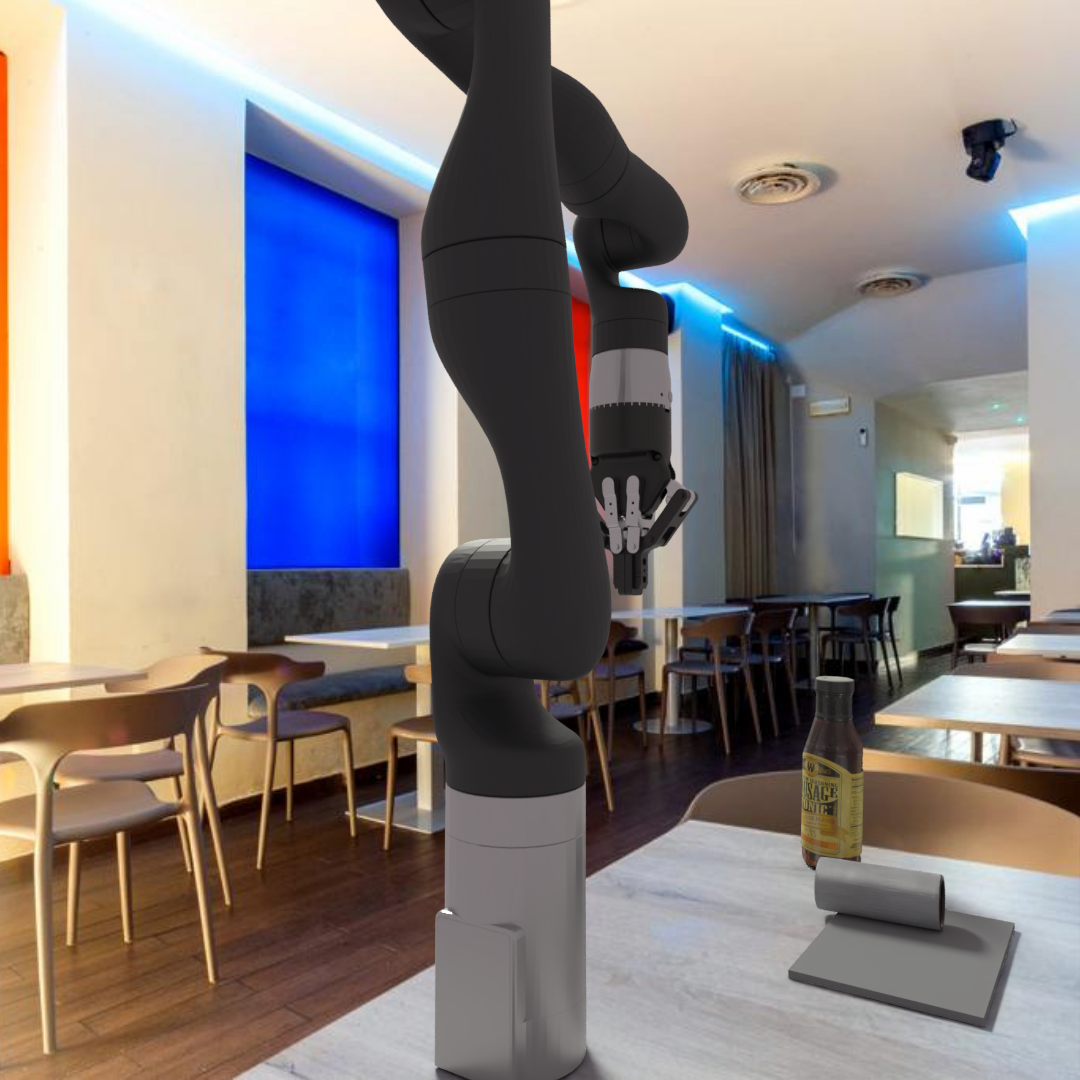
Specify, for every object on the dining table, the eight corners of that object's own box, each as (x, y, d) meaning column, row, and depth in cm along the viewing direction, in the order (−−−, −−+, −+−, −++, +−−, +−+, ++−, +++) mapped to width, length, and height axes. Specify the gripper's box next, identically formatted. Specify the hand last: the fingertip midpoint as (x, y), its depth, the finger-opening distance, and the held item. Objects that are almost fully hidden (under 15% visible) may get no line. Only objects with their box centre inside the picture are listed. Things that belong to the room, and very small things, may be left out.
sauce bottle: (788, 859, 96) (787, 675, 97) (833, 852, 99) (831, 673, 100) (832, 878, 90) (829, 682, 91) (878, 870, 93) (875, 679, 94)
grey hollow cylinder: (815, 918, 79) (941, 941, 74) (812, 870, 79) (939, 890, 74) (825, 893, 83) (946, 913, 78) (823, 847, 83) (944, 865, 78)
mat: (984, 1027, 61) (983, 1018, 61) (788, 977, 68) (788, 969, 68) (1014, 929, 77) (1014, 922, 77) (854, 898, 85) (854, 892, 85)
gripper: (547, 407, 82) (547, 595, 82) (679, 391, 75) (680, 597, 74) (588, 419, 89) (588, 593, 88) (713, 405, 81) (715, 595, 81)
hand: (630, 595), depth 81 cm, fingers closed
